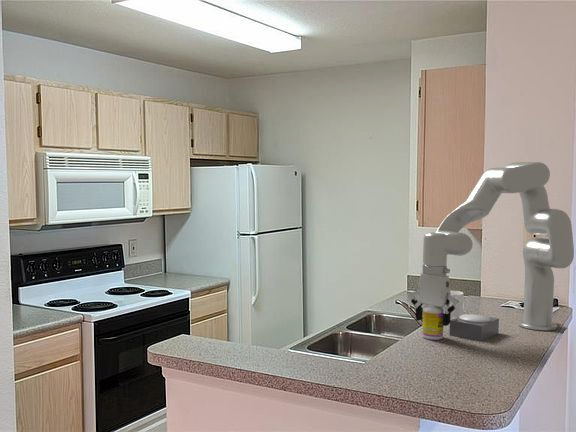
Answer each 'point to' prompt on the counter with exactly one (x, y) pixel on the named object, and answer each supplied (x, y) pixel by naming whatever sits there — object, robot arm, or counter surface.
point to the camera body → (474, 327)
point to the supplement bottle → (432, 322)
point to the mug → (460, 306)
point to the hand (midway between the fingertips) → (432, 322)
